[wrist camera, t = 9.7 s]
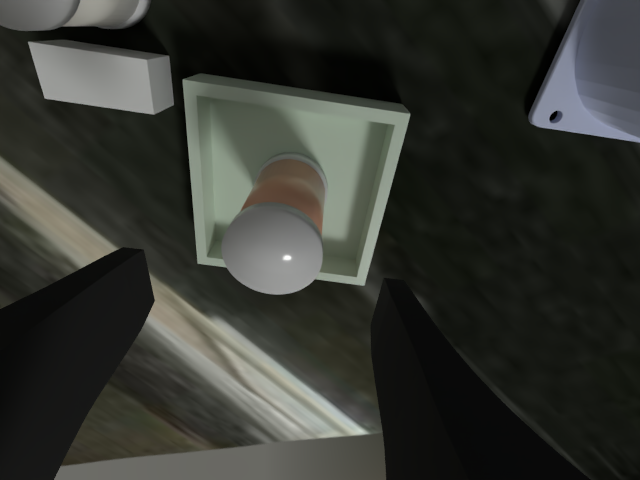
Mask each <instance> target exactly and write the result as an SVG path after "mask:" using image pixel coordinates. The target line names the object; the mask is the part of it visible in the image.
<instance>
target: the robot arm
mask: <svg viewBox="0 0 640 480" xmlns="http://www.w3.org/2000/svg"><path fill="white" fill-rule="evenodd" d="M555 111H557V112H558V113H557V116H556V118H555V119H554V120H552V121H550V120H549V118H550V115H551V114H552V113H553V112H555ZM528 118H529V121H530V123H531V124H533V125H535V126H538V127H543V128H549V129H556V130H562V131H569V132H575V133H582V134H589V135H595V136H602V137H608V138H615V139H621V140H628V141H635V142H640V0H580V2H579V4H578V6H577V9H576V11H575V13H574V15H573V17H572V20H571V22H570V24H569V26H568V28H567V31H566V33H565V35H564V37H563V39H562V42H561V44H560V46H559V48H558V50H557V53H556V55H555V57H554V59H553V61H552V64H551V66H550V68H549V70H548V72H547V75H546V77H545V79H544V81H543V83H542V86H541V88H540V90H539V92H538V94H537V97H536V99H535V101H534V103H533V105H532V108H531V110H530V112H529V116H528ZM154 301H155V300H154V295H153V290H152V286H151V281H150V276H149V272H148V267H147V263H146V258H145V253H144V250H142V249H133V248H125V247H123V248H121V249H118V250H116V251H114V252H112V253H110V254H108V255H106V256H104V257H102V258H100V259H98V260H96V261H94V262H93V263H91V264H89V265H87V266H85V267H83V268H81V269H79V270H78V271H76V272H74V273H72V274H70V275H68V276H66V277H64V278H62V279H60V280H58V281H57V282H55V283H53V284H51V285H49V286H47V287H45V288H43V289H41V290H39V291H37V292H35V293H33V294H31V295H29V296H27V297H24V298H22V299H20V300H18V301H16V302H14V303H12V304H10V305H8V306H6V307H4V308H2V309H0V480H54V478H55V476H56V474H57V472H58V470H59V468H60V466H61V464H62V462H63V460H64V458H65V456H66V454H67V452H68V450H69V448H70V446H71V444H72V442H73V440H74V438H75V436H76V435H77V433H78V431H79V429H80V427H81V425H82V423H83V421H84V419H85V417H86V416H87V414H88V412H89V411H90V409H91V407H92V406H93V404H94V402H95V401H96V399H97V397H98V396H99V394H100V393H101V391H102V390H103V388H104V387H105V385H106V384H107V382H108V381H109V379H110V377H111V376H112V374H113V373H114V371H115V370H116V368H117V367H118V365H119V364H120V362H121V361H122V359H123V358H124V356H125V354H126V353H127V351H128V350H129V348H130V347H131V345H132V344H133V342H134V340H135V339H136V337H137V336H138V334H139V332H140V331H141V329H142V327H143V325H144V323H145V321H146V319H147V317H148V314H149V312H150V310H151V308H152V306H153V303H154ZM371 354H372V363H373V370H374V377H375V384H376V390H377V397H378V403H379V410H380V416H381V423H382V430H383V437H384V447H385V463H386V480H590V479H589V478H588V477H587V476H585V475H584V474H583V473H582V472H580V471H579V470H578V469H577V468H576V467H574V466H573V465H572V464H571V463H570V462H568V461H567V460H566V459H565V458H564V457H562V456H561V455H560V454H559V453H558V452H557V451H555V450H554V449H553V448H552V447H551V446H550V445H548V444H547V443H546V442H545V441H544V440H543V439H542V438H541V437H539V436H538V435H537V434H536V433H535V432H534V431H533V430H532V429H531V428H530V427H529V426H527V425H526V424H525V423H524V422H523V421H522V420H521V419H520V418H519V417H518V416H517V415H516V414H514V413H513V412H512V411H511V410H510V409H509V408H508V407H507V406H506V405H505V404H504V403H503V402H502V401H501V400H500V399H499V398H498V397H497V396H496V395H495V394H494V393H493V392H492V391H491V389H490V388H489V387H488V386H487V385H486V384H485V383H484V382H483V381H482V380H481V379H480V378H479V377H478V376H477V375H476V374H475V373H474V371H473V370H472V369H471V368H470V367H469V366H468V365H467V363H466V362H465V361H464V360H463V359H462V358H461V356H460V355H459V354H458V353H457V352H456V350H455V349H454V348H453V347H452V346H451V344H450V343H449V342H448V341H447V339H446V338H445V337H444V335H443V334H442V333H441V331H440V330H439V329H438V327H437V326H436V325H435V323H434V322H433V321H432V319H431V318H430V317H429V315H428V314H427V312H426V311H425V310H424V308H423V307H422V305H421V304H420V302H419V301H418V300H417V298H416V297H415V295H414V294H413V292H412V291H411V289H410V288H409V287H408V285H407V284H406V282H405V281H404V280H398V279H389V278H384V279H383V283H382V286H381V290H380V293H379V297H378V301H377V304H376V308H375V311H374V315H373V319H372V322H371Z"/></svg>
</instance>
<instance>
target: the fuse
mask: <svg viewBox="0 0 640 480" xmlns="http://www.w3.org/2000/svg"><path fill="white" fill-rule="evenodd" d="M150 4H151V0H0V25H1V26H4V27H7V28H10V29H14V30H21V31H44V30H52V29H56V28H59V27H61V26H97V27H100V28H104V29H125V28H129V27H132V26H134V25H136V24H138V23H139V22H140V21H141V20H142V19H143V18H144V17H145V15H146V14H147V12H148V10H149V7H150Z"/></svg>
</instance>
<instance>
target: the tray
mask: <svg viewBox="0 0 640 480" xmlns="http://www.w3.org/2000/svg"><path fill="white" fill-rule="evenodd" d="M183 91H184V103H185V115H186V127H187V139H188V151H189V163H190V176H191V188H192V200H193V212H194V224H195V236H196V248H197V260H198V264H205V265H213V266H220V267H226V265H225V263H224V260H223V257H222V251H221V245H222V240H223V237H224V234H225V233H226V231H227V229H228V227H229V225H230V223H231V222H232V220H233V219H234V217H235V216H236V215H237V214H238V213H239V212H240V211H241V209H242V207H243V205H244V203H245V201H246V199H247V197H248V195H249V194H250V192H251V190H252V188H253V186H254V182H255V178H256V176H257V174H258V172H259V170H260V168H261V167H262V165H263V164H264V163H265V162H266V161H267V160H268V159H269V158H271V157H272V156H274V155H276V154H279V153H284V152H296V153H301V154H304V155H306V156H308V157H310V158H311V159H313V160H314V161H315V162H317V163H318V164H319V166H320V167H321V168H322V170H323V171H324V173H325V176H326V178H327V183H328V192H327V200H326V203H325V206H324V215H323V226H322V239H323V258H322V265H321V269H320V271H319V273H318V275H317V277H316V278H315V279H318V280H326V281H333V282H341V283H348V284H356V285H364V284H365V281H366V277H367V273H368V270H369V266H370V262H371V258H372V255H373V251H374V247H375V244H376V240H377V236H378V233H379V229H380V225H381V221H382V218H383V214H384V210H385V207H386V203H387V199H388V196H389V192H390V188H391V184H392V181H393V177H394V173H395V170H396V166H397V162H398V158H399V155H400V151H401V147H402V144H403V140H404V136H405V133H406V129H407V125H408V121H409V118H410V113H409V112H408V110H407V109H406V108H405V107H404V105H403V104H399V103H393V102H386V101H380V100H373V99H367V98H360V97H353V96H347V95H340V94H334V93H327V92H321V91H314V90H307V89H301V88H294V87H288V86H281V85H275V84H268V83H262V82H255V81H248V80H242V79H235V78H229V77H222V76H216V75H209V74H202V73H199V74H197V75H194V76H191V77H188V78H185V79H183Z"/></svg>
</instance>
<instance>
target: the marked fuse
mask: <svg viewBox="0 0 640 480" xmlns="http://www.w3.org/2000/svg"><path fill="white" fill-rule="evenodd" d="M327 192H328V183H327V178H326V176H325V173H324V171H323V170H322V168H321V167H320V166H319V164H318V163H317V162H315V161H314V160H313V159H311V158H310V157H308V156H306V155H304V154H301V153H296V152H284V153H279V154H276V155H274V156H272V157H271V158H269V159H268V160H267V161H266V162H265V163H264V164H263V165H262V167H261V168H260V170H259V172H258V174H257V176H256V178H255V182H254V186H253V188H252V190H251V192H250V194H249V195H248V197H247V199H246V201H245V203H244V205H243V207H242V209H241V211H240V212H239V213H238V214H237V215H236V216H235V217H234V219H233V220H232V222H231V223H230V225H229V227H228V229H227V231H226V233H225V234H224V237H223V240H222V245H221V251H222V257H223V260H224V263H225V265H226V267H227V268H228V270H229V271H230V273H231V274H232V275H233V276H234V277H235V278H236V279H237V280H238V281H240V282H241V283H242V284H244V285H245V286H247V287H249V288H251V289H253V290H256V291H259V292H262V293H267V294H288V293H292V292H296V291H298V290H301V289H303V288H305V287H306V286H308V285H309V284H310V283H311V282H312V281H313V280H314V279H315V278H316V277H317V275H318V273H319V271H320V269H321V265H322V258H323V239H322V226H323V215H324V206H325V203H326V200H327Z"/></svg>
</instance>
